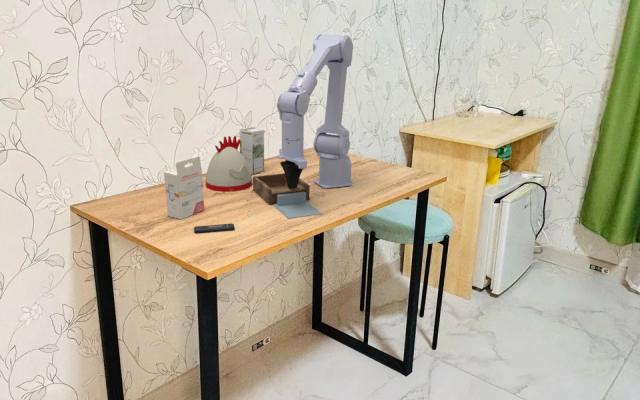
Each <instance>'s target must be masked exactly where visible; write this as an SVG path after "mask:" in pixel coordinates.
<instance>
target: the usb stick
mask: <svg viewBox="0 0 640 400" xmlns="http://www.w3.org/2000/svg"><path fill="white" fill-rule="evenodd" d="M235 228H236V227H235V224H234V223H222V224H221V223H220V224H210V225H199V226H198V225H197V226H194V227H193V230H194V234H197V235H198V234H207V233H208V234H209V233H219V232H220V233H221V232H231V231H232V232H233V231H234V230H236V229H235Z"/></svg>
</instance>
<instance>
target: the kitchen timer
mask: <svg viewBox="0 0 640 400" xmlns="http://www.w3.org/2000/svg"><path fill="white" fill-rule="evenodd" d="M218 143H219V147H220V148H219V147H218V145H216V144H214V146H215V149H216V152H215V153H214V154H213V155H212V158H211V159H210V161H209V164H208V166H207V170H206V175H205V187H206V188H207V189H209V190H210V191H214V192H221V193H223V192H225V193H229V192H230V193H231V192H233V193H234V192H239V191H240V192H241V191H244V190H248V189H249V188H250V189H251V187H253V175H252V174H251V172H250V169H249V166H248V163H247V161H246V159H245V158H244V156H243V155H242V154H241V153H240V150H238V149H239V148H240V138H239V139H237V136H236V135H234V136H233V138H232V137H231V136H230V135H228V137H227V136H223V142H222V140H219V141H218Z"/></svg>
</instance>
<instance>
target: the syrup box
mask: <svg viewBox="0 0 640 400" xmlns="http://www.w3.org/2000/svg"><path fill="white" fill-rule="evenodd" d="M239 139H240V144H239V152H240V153H241V154H242V155H243V156H244V158H245V159H246V161H247V163H248V166H249V169H250V172H251V176H254V175H256V174H259V173H260V174H261V173H262V172H265V129H264V128H261V127H258V126H250V127H244V128H239Z"/></svg>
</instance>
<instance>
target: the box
mask: <svg viewBox="0 0 640 400" xmlns="http://www.w3.org/2000/svg"><path fill="white" fill-rule="evenodd" d="M310 188H311V186H310V185H309V184H308V183H307V182H306V181H304V180H303V179H301V178H299V182H298V186H297V188H293V189H290V188H288V185H287V181H286V176H285V173H284V172H283V173H274V174H273V173H272V174H267V175H266V174H264V175H256V176H254V175H253V176H252V190H253V192H254V193H256V194H257V196H259V197H260V198H261V199H262V200H263V201H264V202H265V203H267V204H268V205H269V206H270V205H271V206H272V205H273V204H277V195H281V194H290V193H298V192H305V193H306V201H308V200H310V197H311V196H310V192H311V191H310V190H311V189H310Z"/></svg>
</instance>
